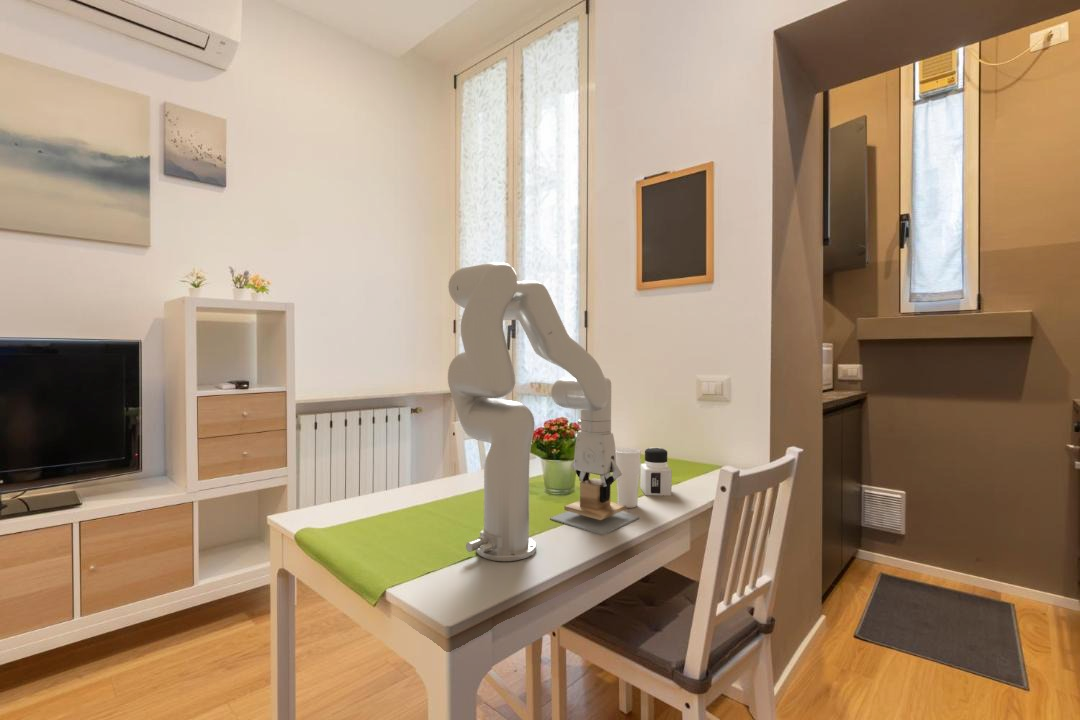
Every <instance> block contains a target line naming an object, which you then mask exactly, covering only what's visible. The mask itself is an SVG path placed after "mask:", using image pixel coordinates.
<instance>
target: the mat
mask: <svg viewBox="0 0 1080 720" xmlns="http://www.w3.org/2000/svg"><path fill="white" fill-rule="evenodd" d="M639 518H641V517H640V516H638V515H633V514H629V513H626V512H624V511H621V512H619V513H616V514H614V515H612V516H609V517H607V518H605V519H602V520H598V519H594V518H591V517H587V516H584V515H580V514H576V513H573V512H569V511H565V512H562V513H559V514H557V515H554V516H551V517H550V518H549V520H550V519H551V521H554V522H557V523H560V522H561V523H562V524H563V523H564V524H565V525H568V526H570V527H574V528H577V529H581V530H584V531H586V532H590V533H594V534H597V535H601V536H604V535H607V534H609V533H611V532H614V531H616V530H617V529H620V528H621V527H624V526H626V525H629V524H630V523H633V522H635V521H638V520H639ZM561 523H560V524H561ZM564 524H563V525H564Z"/></svg>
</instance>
